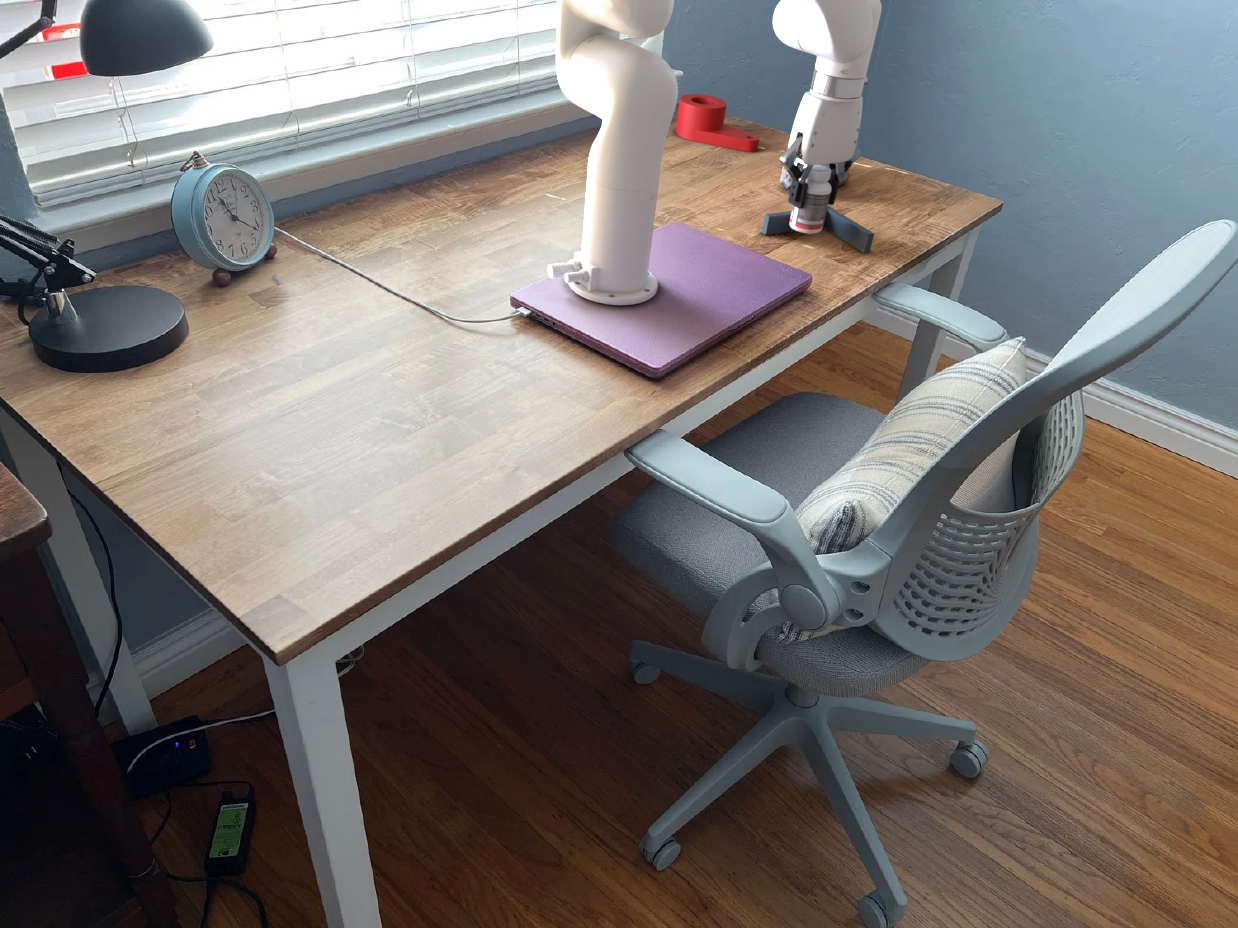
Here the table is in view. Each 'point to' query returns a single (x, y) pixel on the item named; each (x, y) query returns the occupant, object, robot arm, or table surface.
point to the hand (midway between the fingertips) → (811, 202)
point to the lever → (710, 123)
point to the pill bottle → (813, 202)
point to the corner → (832, 223)
